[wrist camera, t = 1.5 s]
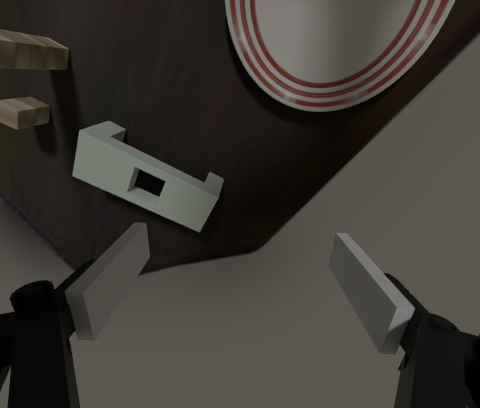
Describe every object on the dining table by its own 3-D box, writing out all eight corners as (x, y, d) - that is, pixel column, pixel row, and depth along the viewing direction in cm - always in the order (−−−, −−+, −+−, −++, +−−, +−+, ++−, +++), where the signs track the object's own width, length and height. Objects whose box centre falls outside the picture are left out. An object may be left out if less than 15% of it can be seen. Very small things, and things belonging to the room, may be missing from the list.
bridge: (108, 120, 39) (79, 130, 32) (224, 178, 43) (218, 197, 36) (100, 160, 42) (72, 175, 36) (207, 210, 47) (199, 232, 40)
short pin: (31, 96, 38) (-5, 100, 32) (50, 106, 38) (17, 111, 33) (30, 113, 39) (-5, 120, 34) (48, 122, 40) (17, 129, 34)
